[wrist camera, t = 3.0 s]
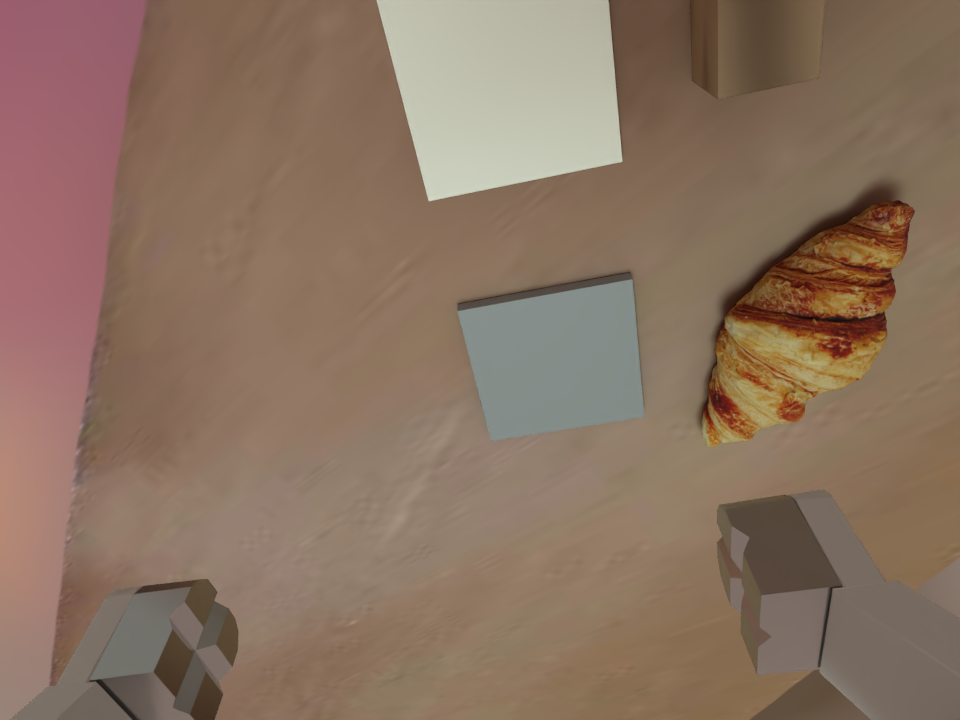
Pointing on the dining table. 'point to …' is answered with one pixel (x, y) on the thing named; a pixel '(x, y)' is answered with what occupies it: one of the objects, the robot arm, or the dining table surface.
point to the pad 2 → (555, 356)
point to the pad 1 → (504, 88)
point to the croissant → (806, 325)
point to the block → (754, 44)
